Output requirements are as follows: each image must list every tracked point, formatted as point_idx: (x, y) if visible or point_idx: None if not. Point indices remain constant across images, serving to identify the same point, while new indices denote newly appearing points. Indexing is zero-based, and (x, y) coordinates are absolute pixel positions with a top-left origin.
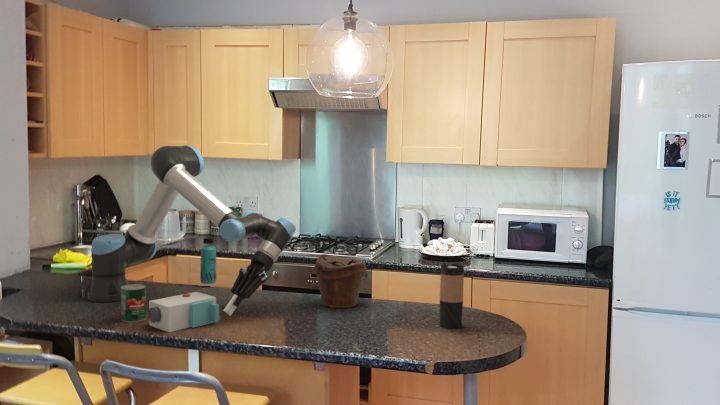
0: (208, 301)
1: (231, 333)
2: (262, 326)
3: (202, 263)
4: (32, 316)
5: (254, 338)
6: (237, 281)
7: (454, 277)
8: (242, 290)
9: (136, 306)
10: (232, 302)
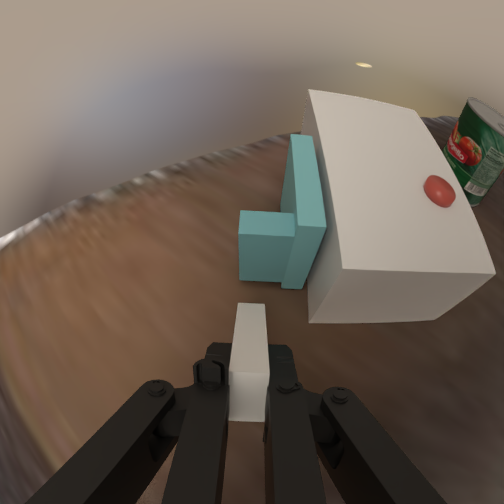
0: (295, 197)
1: (125, 249)
2: (82, 385)
3: None
4: None
5: (41, 259)
6: (380, 474)
7: None
8: (197, 410)
9: (450, 141)
10: (233, 336)
